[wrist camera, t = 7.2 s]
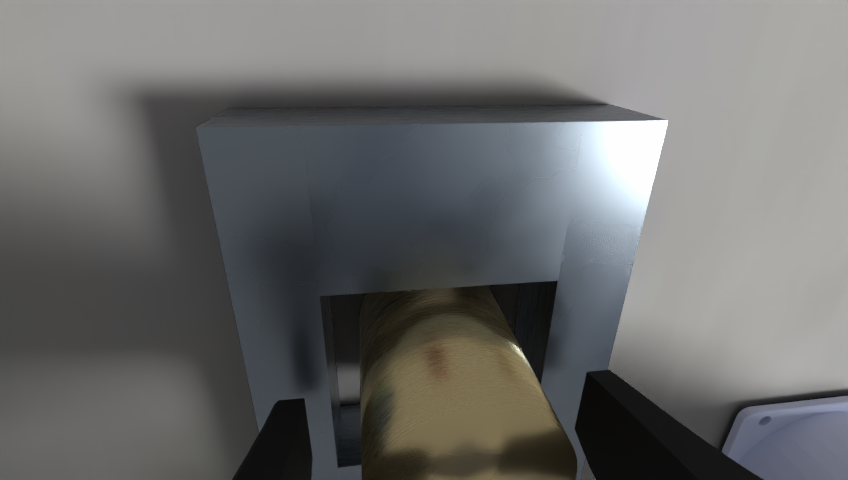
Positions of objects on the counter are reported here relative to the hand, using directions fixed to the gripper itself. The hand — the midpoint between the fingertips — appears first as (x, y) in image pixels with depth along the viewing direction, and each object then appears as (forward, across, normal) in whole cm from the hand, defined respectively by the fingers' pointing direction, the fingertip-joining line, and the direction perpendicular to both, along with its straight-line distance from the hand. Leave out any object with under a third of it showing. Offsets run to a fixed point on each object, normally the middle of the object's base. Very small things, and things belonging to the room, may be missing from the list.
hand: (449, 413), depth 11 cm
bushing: (+4, 0, 0) cm, 4 cm away
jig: (+3, 0, 0) cm, 4 cm away
